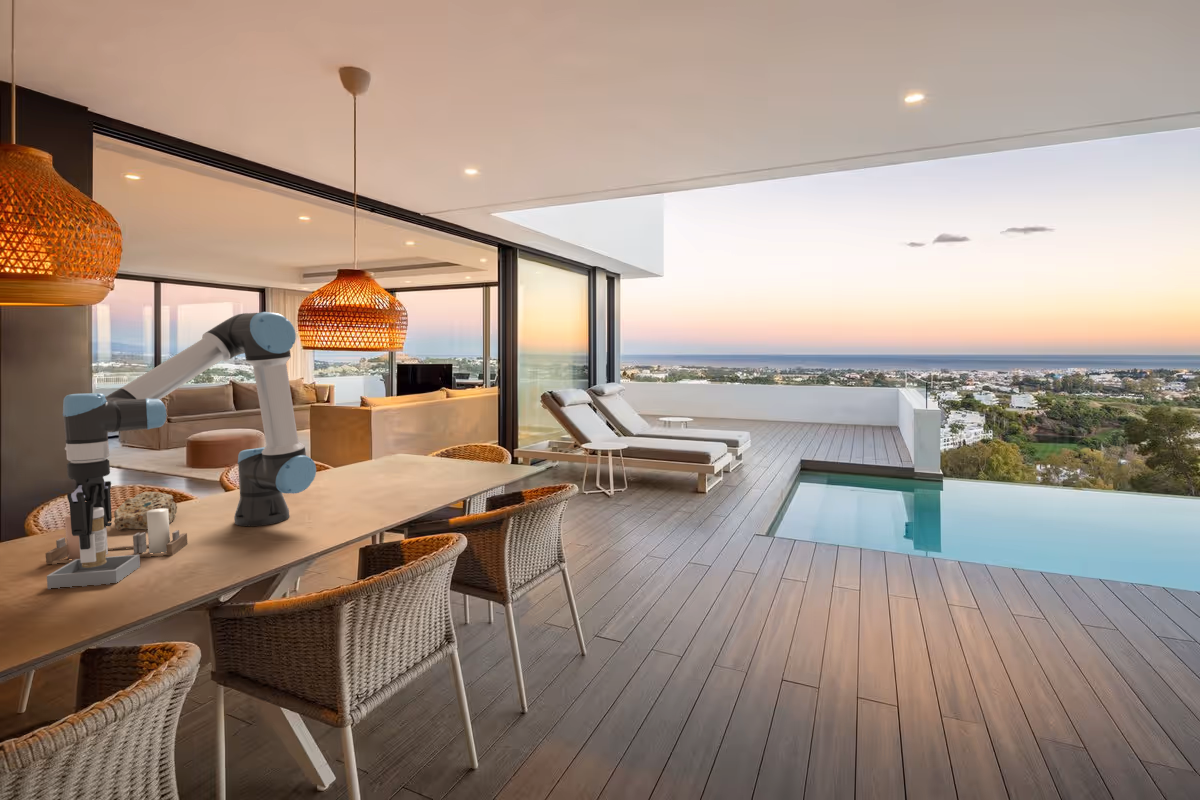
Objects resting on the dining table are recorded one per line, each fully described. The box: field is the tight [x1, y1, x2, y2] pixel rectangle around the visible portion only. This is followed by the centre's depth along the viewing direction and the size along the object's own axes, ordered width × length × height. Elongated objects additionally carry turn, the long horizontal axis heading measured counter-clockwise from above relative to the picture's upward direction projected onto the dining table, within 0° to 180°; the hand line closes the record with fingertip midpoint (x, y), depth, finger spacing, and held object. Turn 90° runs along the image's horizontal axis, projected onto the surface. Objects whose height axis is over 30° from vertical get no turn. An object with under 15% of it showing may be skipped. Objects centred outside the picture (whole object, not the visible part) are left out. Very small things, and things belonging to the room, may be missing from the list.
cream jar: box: [147, 508, 171, 554], centre depth 160 cm, size 5×5×11 cm
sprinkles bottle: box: [82, 507, 107, 568], centre depth 141 cm, size 5×5×14 cm
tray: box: [46, 554, 141, 590], centre depth 141 cm, size 13×11×3 cm
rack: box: [45, 529, 188, 565], centre depth 158 cm, size 27×10×5 cm, turn 105°
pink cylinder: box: [64, 514, 80, 560], centre depth 155 cm, size 5×5×11 cm
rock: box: [113, 491, 178, 531], centre depth 187 cm, size 21×14×10 cm
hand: (94, 558), depth 141 cm, fingers closed on sprinkles bottle, 4 cm apart
